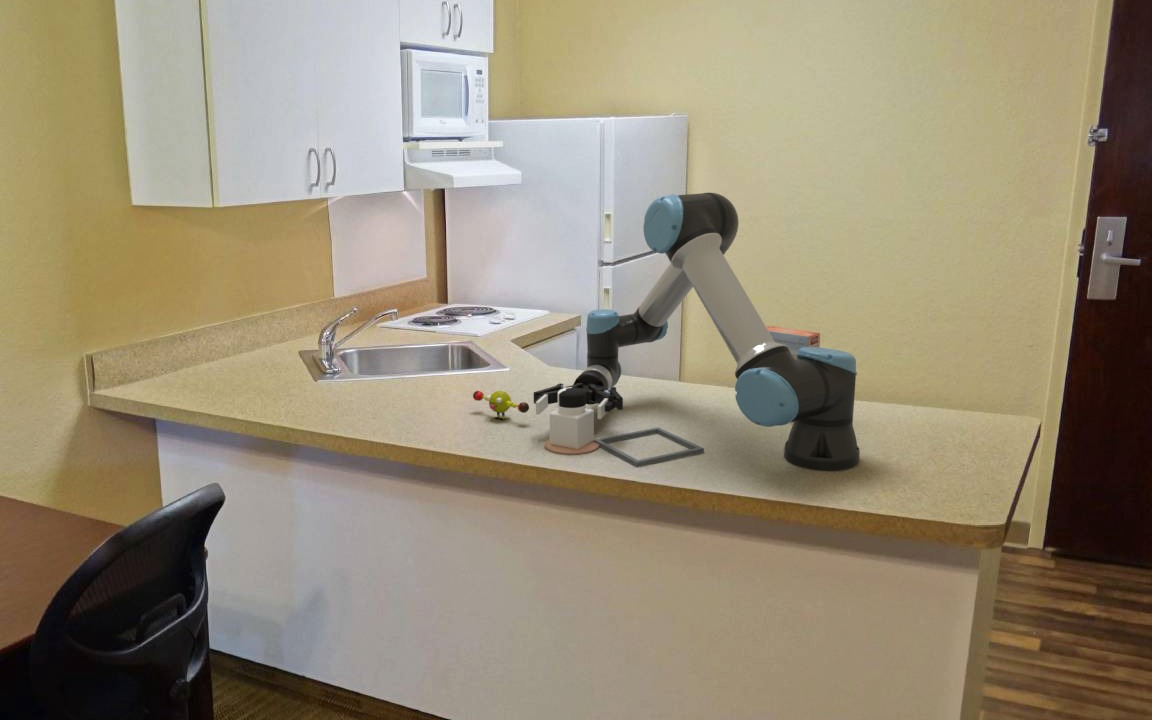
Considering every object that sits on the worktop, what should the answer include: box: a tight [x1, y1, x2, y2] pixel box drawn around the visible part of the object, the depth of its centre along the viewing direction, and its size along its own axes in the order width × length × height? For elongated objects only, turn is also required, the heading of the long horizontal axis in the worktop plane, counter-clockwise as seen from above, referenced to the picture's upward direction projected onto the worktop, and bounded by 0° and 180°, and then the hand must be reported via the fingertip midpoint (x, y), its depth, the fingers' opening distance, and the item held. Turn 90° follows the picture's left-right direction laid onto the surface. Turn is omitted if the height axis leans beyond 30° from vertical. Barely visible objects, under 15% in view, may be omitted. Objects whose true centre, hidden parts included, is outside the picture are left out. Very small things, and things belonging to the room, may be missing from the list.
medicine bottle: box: [549, 387, 595, 449], centre depth 207 cm, size 7×7×12 cm
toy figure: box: [472, 390, 530, 421], centre depth 227 cm, size 18×6×7 cm, turn 48°
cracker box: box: [765, 325, 821, 360], centre depth 226 cm, size 14×6×21 cm, turn 47°
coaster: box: [544, 437, 600, 456], centre depth 208 cm, size 12×12×1 cm
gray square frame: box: [594, 427, 705, 468], centre depth 206 cm, size 17×17×1 cm
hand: (568, 410), depth 203 cm, fingers open, 13 cm apart
